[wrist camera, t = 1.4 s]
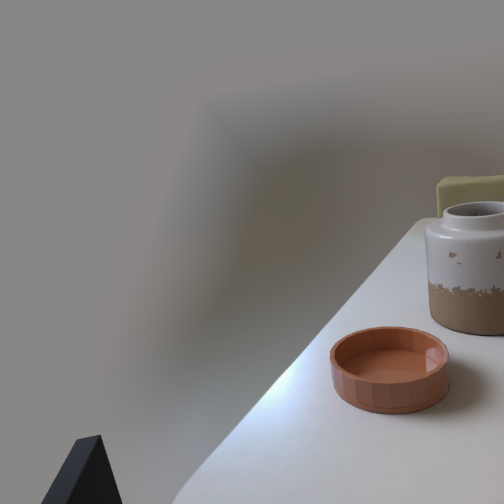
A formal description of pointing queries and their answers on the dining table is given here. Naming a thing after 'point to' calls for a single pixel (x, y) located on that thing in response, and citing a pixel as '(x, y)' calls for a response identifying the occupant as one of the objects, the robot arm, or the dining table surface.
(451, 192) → the cheese
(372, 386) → the orange bowl
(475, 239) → the vase
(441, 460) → the dining table surface
